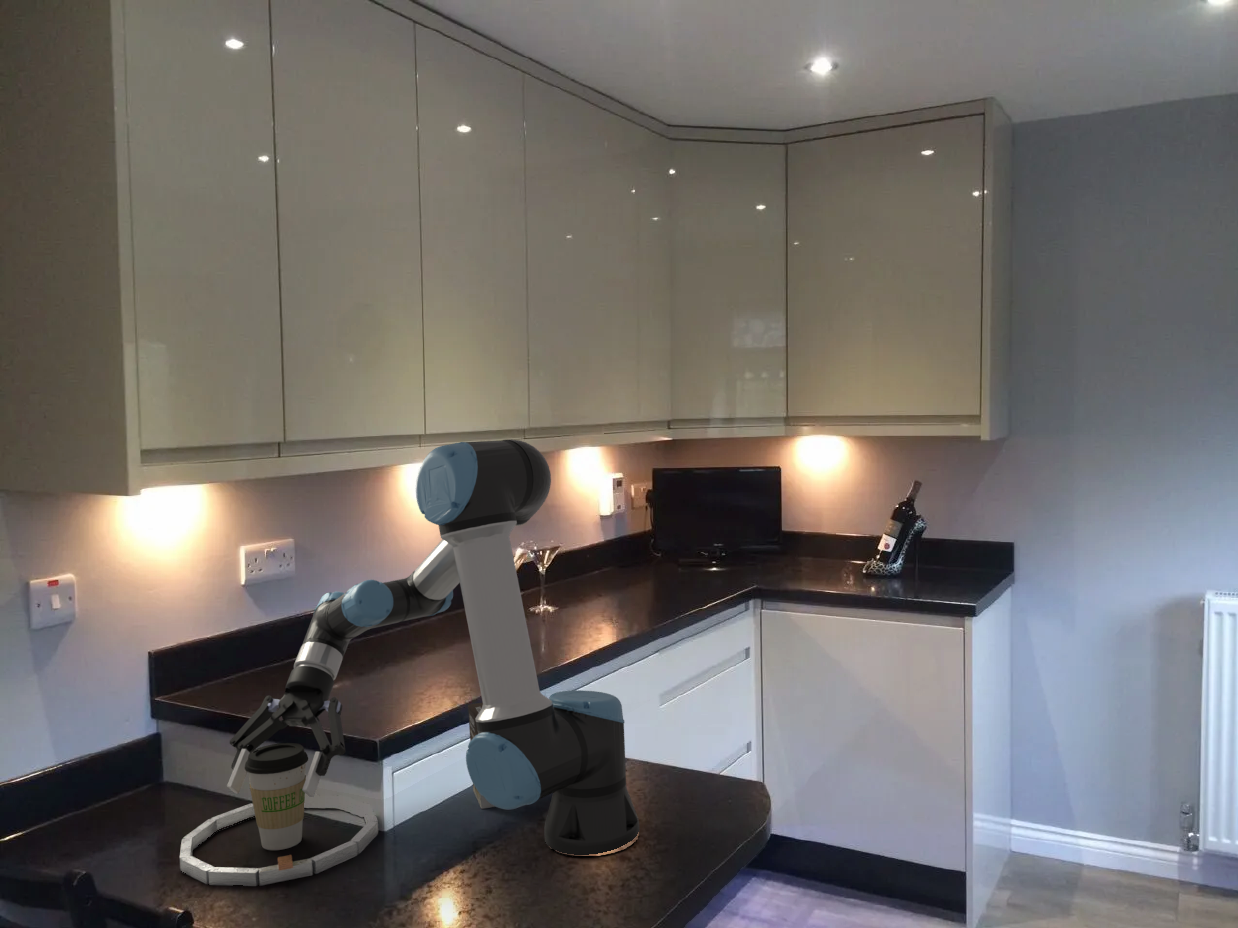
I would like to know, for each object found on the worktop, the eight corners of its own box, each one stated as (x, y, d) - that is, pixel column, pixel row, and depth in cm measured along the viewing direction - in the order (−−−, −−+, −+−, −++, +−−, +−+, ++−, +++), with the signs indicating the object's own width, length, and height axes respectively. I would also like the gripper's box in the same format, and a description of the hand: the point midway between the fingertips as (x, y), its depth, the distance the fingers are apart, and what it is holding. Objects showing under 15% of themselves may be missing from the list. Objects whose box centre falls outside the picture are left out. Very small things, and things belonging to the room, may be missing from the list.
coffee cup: (293, 856, 157) (287, 762, 157) (237, 853, 159) (231, 761, 158) (324, 830, 167) (318, 741, 166) (270, 827, 169) (265, 740, 168)
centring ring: (389, 861, 154) (388, 843, 154) (176, 904, 143) (175, 885, 143) (364, 794, 182) (363, 778, 182) (185, 825, 172) (184, 809, 171)
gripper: (387, 686, 174) (349, 805, 160) (260, 684, 180) (213, 798, 166) (370, 664, 168) (330, 785, 155) (240, 662, 174) (190, 778, 161)
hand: (269, 792), depth 160 cm, fingers open, 13 cm apart
